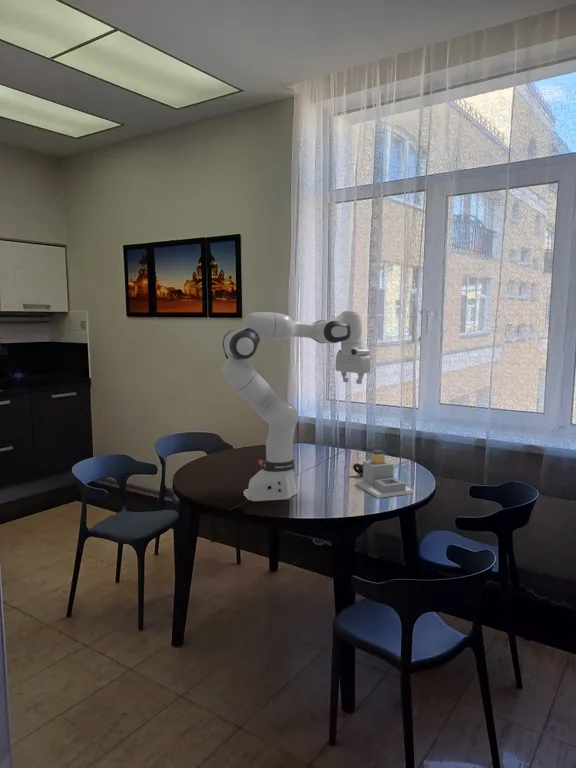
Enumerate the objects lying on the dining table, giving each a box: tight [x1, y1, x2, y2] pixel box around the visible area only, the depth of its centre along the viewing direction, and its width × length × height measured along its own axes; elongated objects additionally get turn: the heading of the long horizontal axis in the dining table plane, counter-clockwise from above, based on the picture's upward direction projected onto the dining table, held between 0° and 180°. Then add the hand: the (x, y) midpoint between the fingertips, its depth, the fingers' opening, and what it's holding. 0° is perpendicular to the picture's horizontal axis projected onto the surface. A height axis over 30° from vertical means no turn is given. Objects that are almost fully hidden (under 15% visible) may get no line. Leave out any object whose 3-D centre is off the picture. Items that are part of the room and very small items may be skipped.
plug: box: [371, 449, 386, 465], centre depth 225 cm, size 4×4×8 cm
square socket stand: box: [355, 459, 414, 499], centre depth 221 cm, size 16×20×10 cm
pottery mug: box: [352, 463, 363, 476], centre depth 240 cm, size 12×10×8 cm
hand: (352, 382), depth 223 cm, fingers open, 8 cm apart
